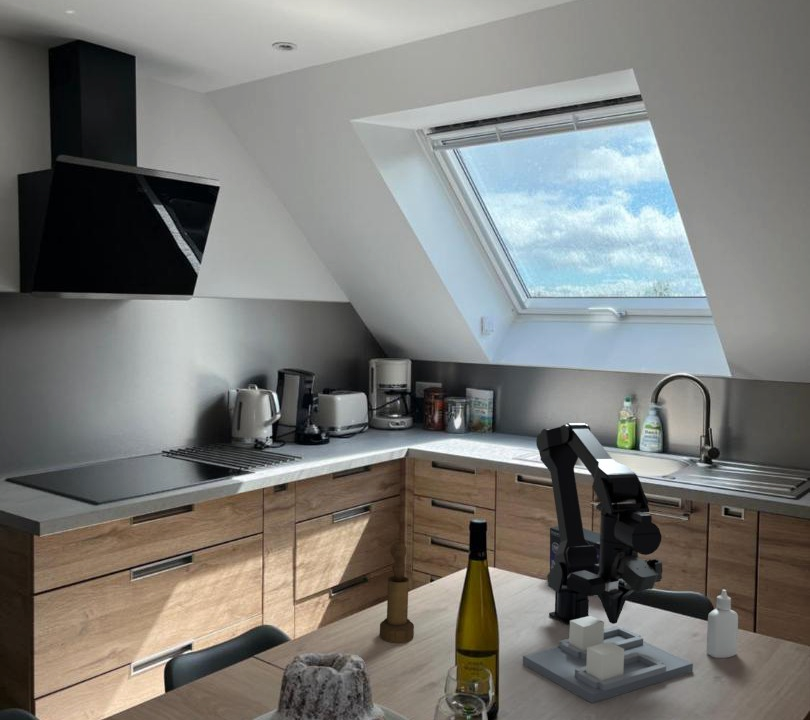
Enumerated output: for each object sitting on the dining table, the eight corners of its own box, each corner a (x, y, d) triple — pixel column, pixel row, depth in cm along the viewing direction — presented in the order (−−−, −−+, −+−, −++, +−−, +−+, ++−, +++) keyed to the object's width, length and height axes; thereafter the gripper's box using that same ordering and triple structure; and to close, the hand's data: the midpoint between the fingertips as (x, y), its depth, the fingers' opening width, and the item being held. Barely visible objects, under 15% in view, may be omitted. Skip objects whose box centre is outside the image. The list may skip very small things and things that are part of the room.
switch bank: (522, 663, 148) (522, 649, 148) (619, 638, 160) (620, 625, 160) (592, 703, 133) (592, 688, 133) (693, 671, 146) (693, 657, 146)
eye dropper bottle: (702, 648, 156) (705, 585, 156) (734, 650, 156) (737, 587, 155) (708, 658, 152) (711, 593, 151) (740, 660, 151) (743, 595, 151)
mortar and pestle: (419, 640, 157) (421, 546, 156) (386, 645, 155) (388, 549, 154) (406, 628, 163) (408, 537, 162) (374, 632, 161) (376, 539, 160)
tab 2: (586, 676, 139) (587, 647, 139) (607, 670, 142) (608, 641, 142) (601, 685, 136) (602, 655, 136) (623, 678, 139) (624, 648, 139)
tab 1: (569, 647, 151) (569, 620, 151) (589, 642, 154) (590, 615, 154) (582, 654, 148) (583, 627, 148) (603, 649, 151) (604, 622, 151)
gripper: (611, 557, 142) (608, 648, 142) (685, 543, 151) (682, 628, 152) (566, 541, 151) (563, 626, 152) (638, 529, 161) (636, 609, 162)
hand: (613, 622), depth 154 cm, fingers closed
